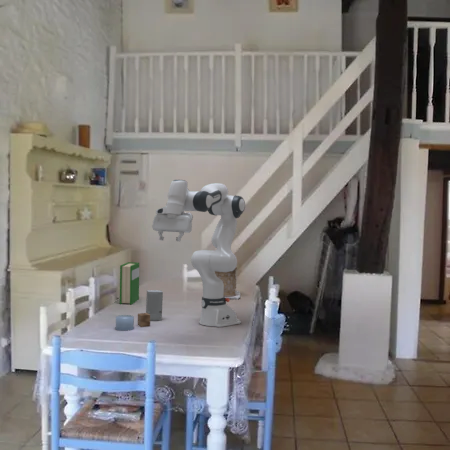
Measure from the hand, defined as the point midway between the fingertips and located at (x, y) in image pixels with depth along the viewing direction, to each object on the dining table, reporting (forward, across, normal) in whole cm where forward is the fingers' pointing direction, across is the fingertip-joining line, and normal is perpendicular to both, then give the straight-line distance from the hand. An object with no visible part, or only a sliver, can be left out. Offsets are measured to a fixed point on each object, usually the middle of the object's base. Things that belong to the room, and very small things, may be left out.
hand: (169, 240), depth 254 cm
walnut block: (+40, +26, -28) cm, 55 cm away
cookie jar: (+13, +32, -122) cm, 127 cm away
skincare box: (+36, +29, -42) cm, 63 cm away
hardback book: (+27, +71, -72) cm, 105 cm away
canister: (+43, +30, -18) cm, 55 cm away
